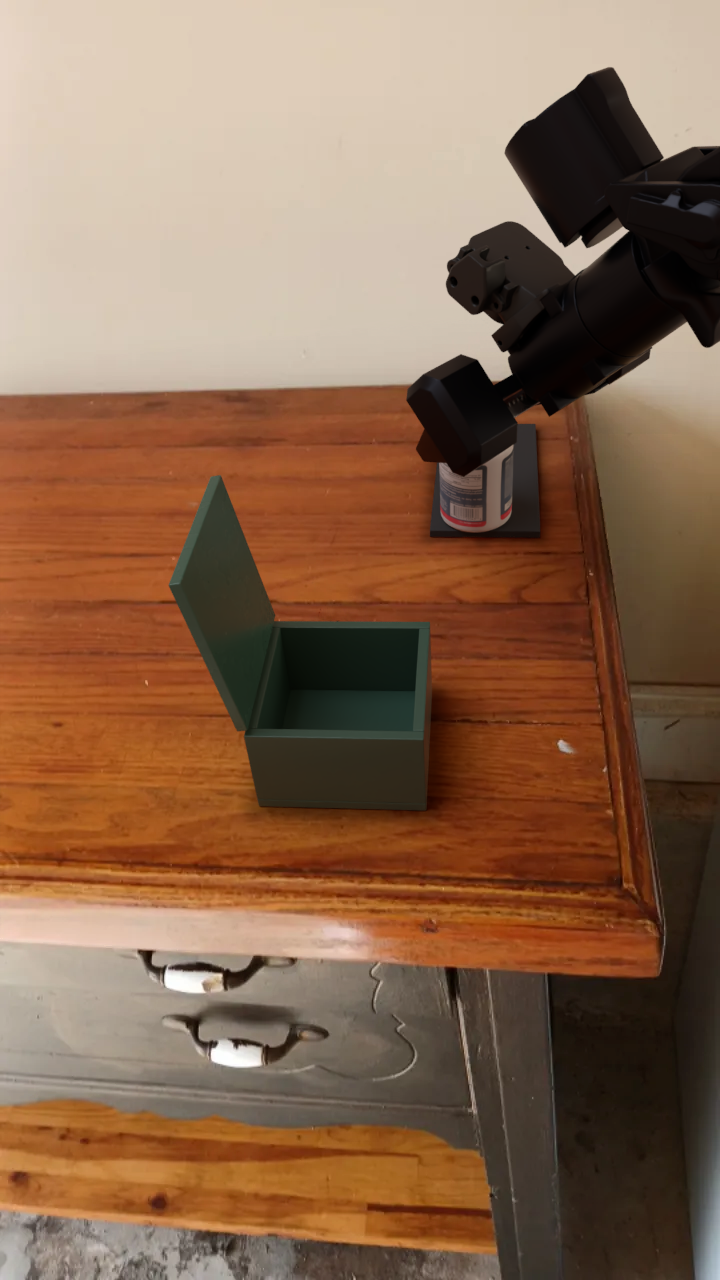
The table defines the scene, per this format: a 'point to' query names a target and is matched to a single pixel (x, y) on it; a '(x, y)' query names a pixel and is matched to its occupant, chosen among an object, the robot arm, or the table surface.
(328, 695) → the green square box
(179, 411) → the table surface
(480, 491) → the pill bottle
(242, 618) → the lid
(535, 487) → the mat
